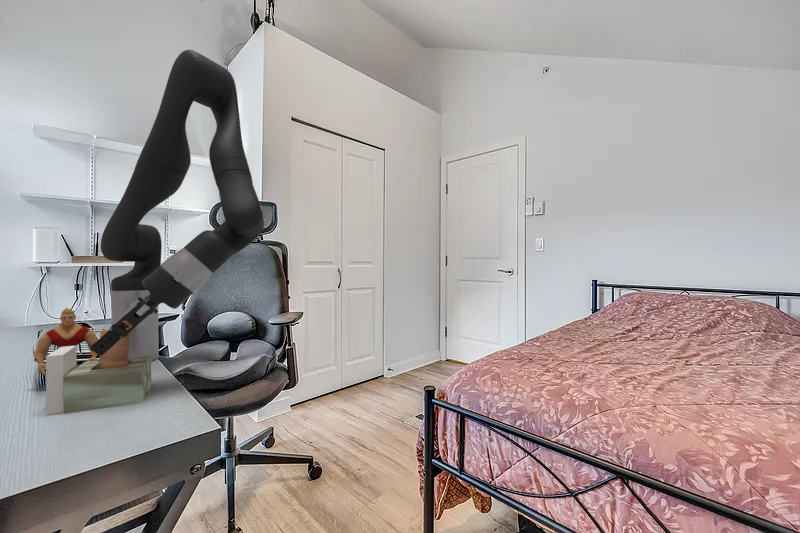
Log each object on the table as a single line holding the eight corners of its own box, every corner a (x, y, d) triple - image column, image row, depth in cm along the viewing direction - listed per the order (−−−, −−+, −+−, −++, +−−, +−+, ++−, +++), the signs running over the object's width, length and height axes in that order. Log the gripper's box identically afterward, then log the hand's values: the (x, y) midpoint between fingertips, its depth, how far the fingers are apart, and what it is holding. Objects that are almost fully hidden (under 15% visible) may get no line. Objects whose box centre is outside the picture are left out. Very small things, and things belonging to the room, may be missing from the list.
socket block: (84, 395, 66) (84, 362, 66) (151, 386, 70) (150, 355, 70) (64, 415, 57) (63, 376, 57) (141, 403, 61) (141, 368, 61)
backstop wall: (61, 398, 63) (61, 346, 63) (76, 396, 64) (76, 345, 64) (46, 414, 56) (45, 356, 56) (63, 412, 57) (63, 354, 57)
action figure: (32, 393, 66) (31, 310, 66) (35, 388, 69) (34, 308, 69) (100, 382, 72) (99, 306, 72) (100, 378, 75) (99, 305, 75)
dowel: (100, 385, 64) (102, 328, 64) (128, 382, 66) (130, 327, 67) (96, 392, 61) (98, 332, 61) (125, 389, 63) (128, 331, 63)
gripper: (164, 264, 74) (89, 327, 68) (159, 263, 61) (67, 341, 55) (194, 289, 76) (125, 352, 70) (196, 293, 64) (112, 371, 58)
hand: (100, 347), depth 63 cm, fingers open, 7 cm apart
